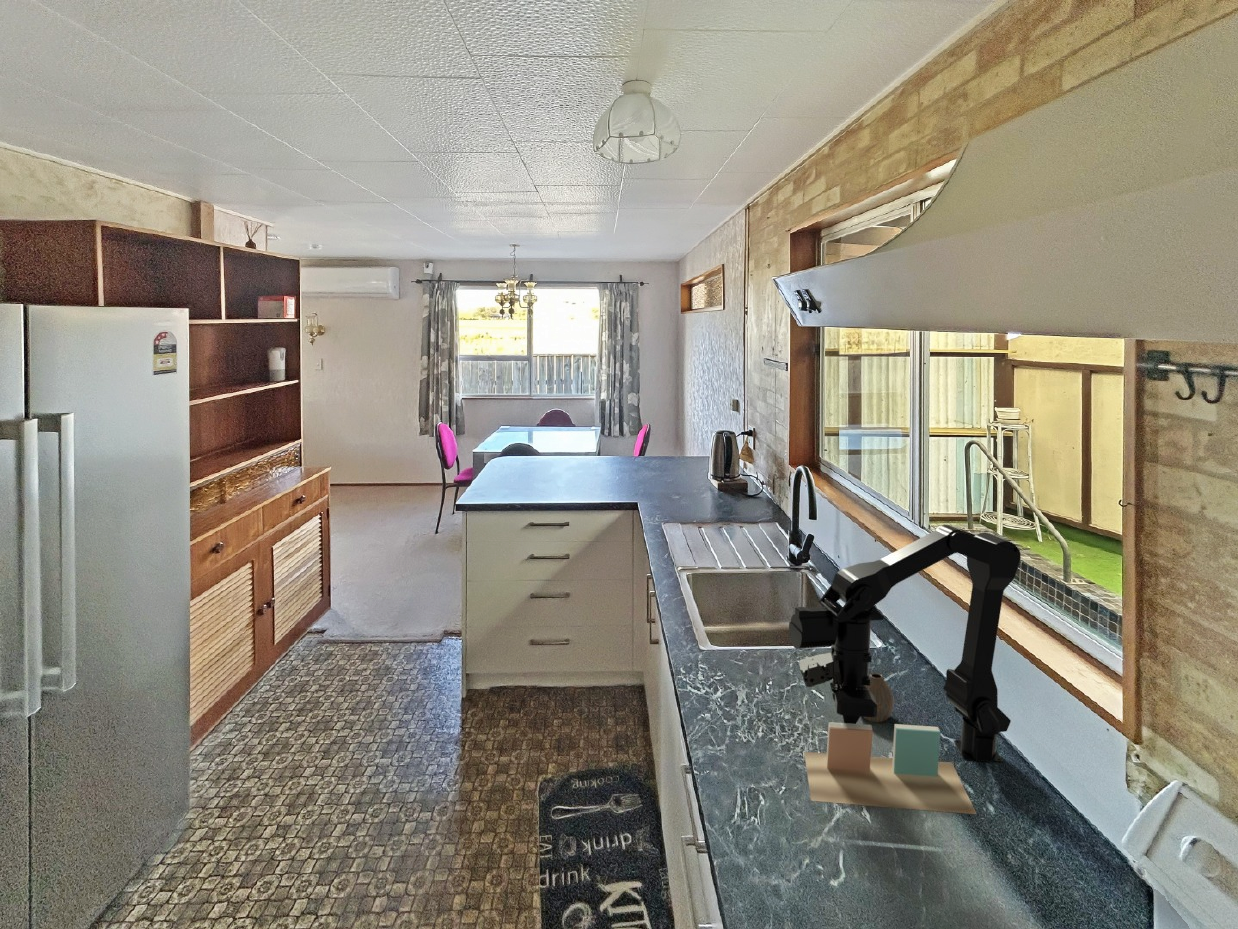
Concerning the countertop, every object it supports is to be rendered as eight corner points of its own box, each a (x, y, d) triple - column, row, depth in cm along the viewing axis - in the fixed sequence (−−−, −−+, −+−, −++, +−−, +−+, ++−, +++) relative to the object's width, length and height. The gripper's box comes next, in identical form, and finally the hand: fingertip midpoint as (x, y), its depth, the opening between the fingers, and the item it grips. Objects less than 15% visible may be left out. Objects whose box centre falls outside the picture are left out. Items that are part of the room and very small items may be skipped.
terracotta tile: (826, 761, 137) (828, 722, 135) (867, 764, 136) (871, 724, 134) (827, 768, 136) (829, 728, 133) (869, 771, 135) (872, 731, 132)
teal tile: (892, 767, 136) (894, 724, 134) (934, 770, 135) (937, 727, 133) (894, 773, 134) (896, 729, 133) (937, 776, 133) (940, 732, 132)
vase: (868, 729, 150) (870, 685, 148) (848, 712, 156) (850, 670, 155) (900, 724, 151) (902, 681, 150) (880, 708, 158) (882, 666, 157)
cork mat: (804, 754, 141) (804, 751, 141) (951, 764, 137) (951, 762, 137) (811, 803, 126) (811, 800, 126) (976, 816, 123) (976, 814, 123)
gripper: (799, 621, 144) (796, 702, 146) (807, 663, 126) (803, 755, 128) (863, 625, 142) (859, 706, 145) (880, 668, 124) (874, 760, 126)
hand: (847, 730), depth 136 cm, fingers closed
